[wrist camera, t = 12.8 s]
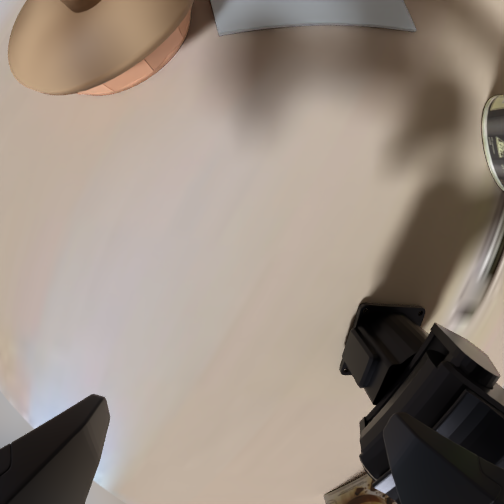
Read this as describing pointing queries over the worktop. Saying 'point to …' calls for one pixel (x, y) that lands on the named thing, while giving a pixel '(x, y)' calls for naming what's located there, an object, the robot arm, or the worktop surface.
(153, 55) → the bowl
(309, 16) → the mat
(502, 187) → the coffee can
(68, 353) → the worktop surface
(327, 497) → the coffee box
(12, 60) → the lid
